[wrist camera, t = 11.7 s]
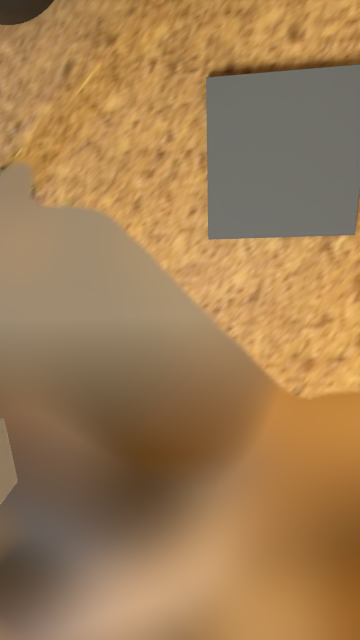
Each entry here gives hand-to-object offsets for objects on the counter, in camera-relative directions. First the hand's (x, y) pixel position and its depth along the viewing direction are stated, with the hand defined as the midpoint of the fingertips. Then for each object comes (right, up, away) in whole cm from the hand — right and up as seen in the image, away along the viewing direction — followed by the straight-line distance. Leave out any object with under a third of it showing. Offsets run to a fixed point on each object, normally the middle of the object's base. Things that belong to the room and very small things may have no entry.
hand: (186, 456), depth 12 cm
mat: (+11, +22, +25) cm, 35 cm away
